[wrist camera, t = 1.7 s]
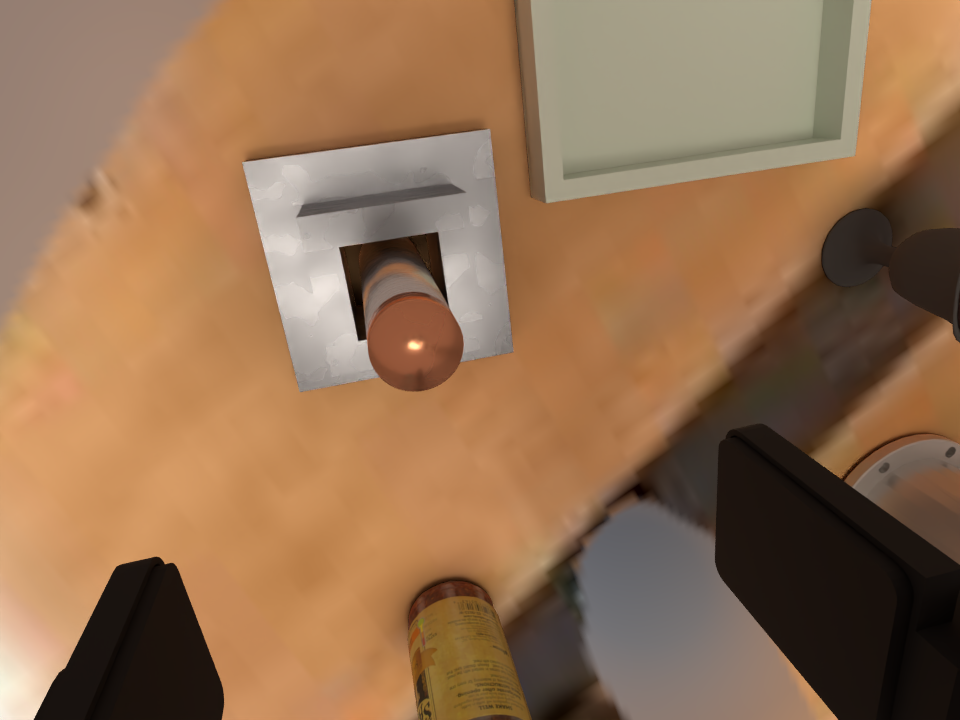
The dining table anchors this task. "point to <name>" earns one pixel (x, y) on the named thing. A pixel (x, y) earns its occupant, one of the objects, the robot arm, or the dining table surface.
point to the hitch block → (375, 217)
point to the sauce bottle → (462, 657)
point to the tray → (685, 89)
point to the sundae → (898, 261)
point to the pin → (406, 318)
